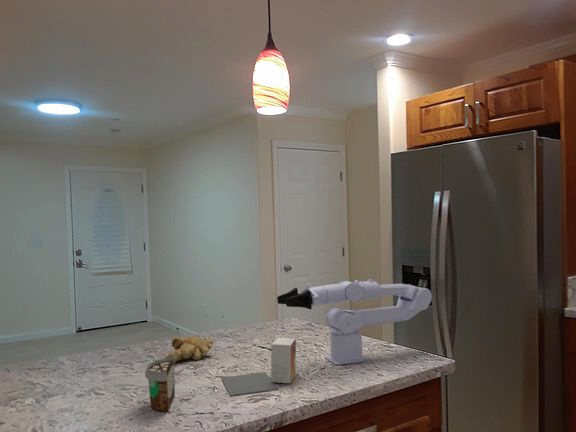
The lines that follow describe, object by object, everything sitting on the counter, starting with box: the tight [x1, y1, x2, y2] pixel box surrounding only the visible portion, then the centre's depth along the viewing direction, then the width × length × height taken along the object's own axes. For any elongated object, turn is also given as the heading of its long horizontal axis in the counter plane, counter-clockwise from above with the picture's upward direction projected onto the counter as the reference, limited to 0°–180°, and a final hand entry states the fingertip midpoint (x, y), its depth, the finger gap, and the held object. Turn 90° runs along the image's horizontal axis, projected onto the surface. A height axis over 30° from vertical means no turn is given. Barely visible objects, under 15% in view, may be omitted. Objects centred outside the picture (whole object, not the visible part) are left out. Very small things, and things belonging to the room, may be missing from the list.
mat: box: [220, 371, 280, 397], centre depth 129 cm, size 13×14×1 cm
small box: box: [270, 337, 297, 384], centre depth 132 cm, size 8×6×10 cm
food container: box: [144, 357, 176, 413], centre depth 116 cm, size 12×6×10 cm, turn 5°
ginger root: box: [165, 336, 215, 362], centre depth 155 cm, size 16×16×8 cm
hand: (281, 301), depth 140 cm, fingers open, 7 cm apart
